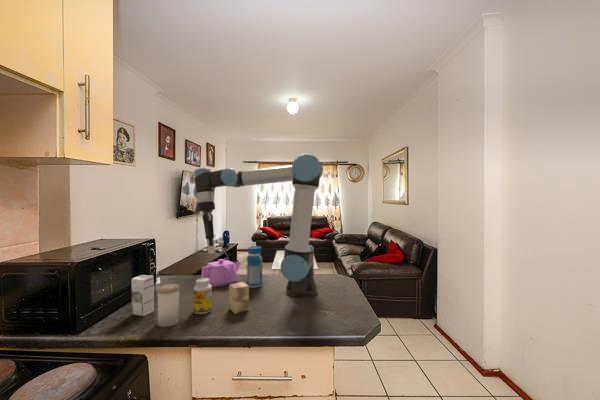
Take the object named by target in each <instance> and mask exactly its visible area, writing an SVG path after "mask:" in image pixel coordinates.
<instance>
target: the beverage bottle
mask: <svg viewBox="0 0 600 400" xmlns="http://www.w3.org/2000/svg"><path fill="white" fill-rule="evenodd" d="M261 253H262V246H259V245H258V246H257V245H253V246H249V247H248V248H247V254H248V255H247V258H246V265H245V266H246V267H245V268H246V284H247V285H248V286H249V288H250V289H251V288H260V287H262V286H263V267H264V266H263V265H264V264H263V257H262V255H261Z"/></svg>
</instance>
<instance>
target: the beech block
mask: <svg viewBox="0 0 600 400" xmlns="http://www.w3.org/2000/svg"><path fill="white" fill-rule="evenodd" d="M228 285H229V287H228V288H229V289H228V290H229V292H228V293H229V299H228V300H229V302H228V303H229V304H228V305H229V309H230V311H232V312H233V313H234V314H238V313H243V312H246V311H249V310H250V307H249V306H250V305H249V304H250V302H249V301H250V293H249V292H250V287H249V286H248V285H247V283H245V282H244V281H241V282H234V283H231V284H228Z"/></svg>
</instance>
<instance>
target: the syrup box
mask: <svg viewBox="0 0 600 400" xmlns="http://www.w3.org/2000/svg"><path fill="white" fill-rule="evenodd" d="M154 277H155V276H154V275H146V274H141V275H138V276H135V277H133V278H131V315H132V316H138V317H146V316H148V315H149V314H152V313H153V312H154V311H155V287H154V286H155V282H154V281H155V278H154Z"/></svg>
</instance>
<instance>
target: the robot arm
mask: <svg viewBox="0 0 600 400" xmlns="http://www.w3.org/2000/svg"><path fill="white" fill-rule="evenodd" d="M193 171H194V173H193V176H194V177H193V179H194V180H193V181H194V187H195V194H196V195H195V196H194V198H195V199H196V201H197V204H196V205H197V210H198V212H203V214H202V220H203V221H202V222H203V228H204V234H205V240H206V244H207V252H208V255H210V254H215V253H216V249H215V241H214V240H215V234H214V231H215V229H214V214H213V213H212V212H211V211H214V210H215V209H216V206H215V205H216V204H215V202H214V201H215V196H214V195H215V194H214V188H215V189H216V188H221V187H232V188H241V187H245V186H256V185H267V184H275V183H276V184H277V183H286V182H291V183H292V184H291V185H292V186H293V188H294V195H293V203H292V204H293V205H292V214H291V223H290V232H289V239H288V244H286V245H284V246H285V247H284V251H283V252H284V253H283V259H282V260H281V263H280V268H279V269H280V273H281V274H282V276H283V277H284V278H285V279H286V280H287V284H286V286H285V293H286V295H288V296H290V297H295V298H309V297H313V296H316V295H317V293H318V285H317V283H316V280H315V277H314V266H315V265H314V253H315V250H314V249H315V248H314V246H313V245H312V244H309V243H310V234H311V227H312V218H313V217H312V216H313V210H314V200H315V192H316V191H317V190H318V189H319V187H320V180H321V178H322V175H323V173H324V167H323V165H322V163H321V161H320V160H319V159H318V157H317V156H315V155H313V154H311V153H303V154H300V155H298V156H296V157H295V158H294V160H293V162H292V164H291V165H283V166H275V167H266V168H258V169H248V170H241V171H239V170H237V171H236V170H235V168H233V167H230V168H226V167H225V168H224V169H219V170H214V171H211V169H210V167H209V168H208V167H207V168H206V167H200V168H197V169H195V170H193Z"/></svg>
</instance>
